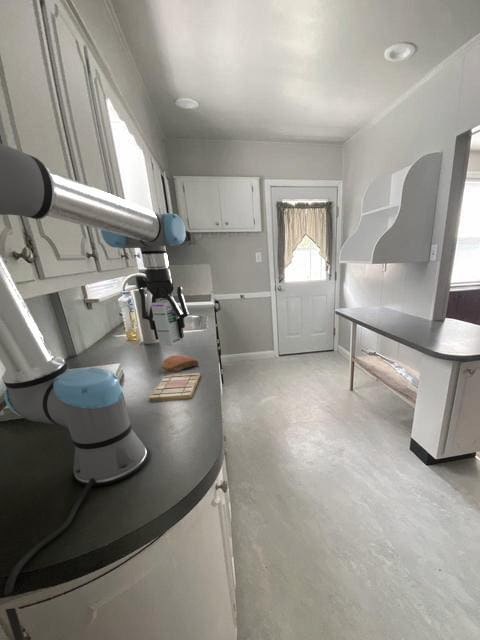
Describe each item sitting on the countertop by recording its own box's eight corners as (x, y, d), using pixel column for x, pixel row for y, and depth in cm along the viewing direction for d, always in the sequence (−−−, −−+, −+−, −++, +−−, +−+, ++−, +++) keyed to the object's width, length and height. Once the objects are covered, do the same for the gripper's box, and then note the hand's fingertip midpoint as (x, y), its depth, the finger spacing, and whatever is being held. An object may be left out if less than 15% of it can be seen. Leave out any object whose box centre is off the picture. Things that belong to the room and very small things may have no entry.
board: (190, 398, 107) (190, 394, 106) (150, 401, 106) (149, 397, 105) (200, 376, 127) (199, 372, 127) (165, 378, 126) (165, 375, 125)
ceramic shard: (149, 358, 135) (177, 354, 148) (151, 372, 136) (179, 367, 149) (170, 358, 127) (198, 354, 140) (172, 373, 129) (199, 368, 141)
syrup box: (172, 345, 104) (164, 302, 98) (158, 344, 106) (150, 302, 100) (183, 341, 109) (176, 300, 103) (169, 340, 111) (161, 300, 105)
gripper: (191, 266, 102) (201, 333, 111) (128, 269, 100) (143, 337, 109) (187, 267, 95) (198, 338, 104) (119, 270, 93) (136, 342, 102)
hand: (170, 337), depth 106 cm, fingers closed on syrup box, 7 cm apart
